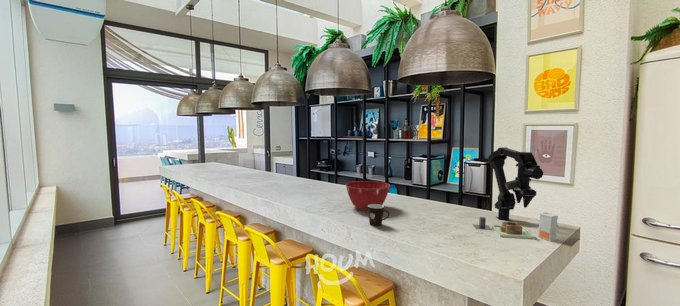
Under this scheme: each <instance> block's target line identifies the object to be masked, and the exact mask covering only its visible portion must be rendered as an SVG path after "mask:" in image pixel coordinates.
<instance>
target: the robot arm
mask: <svg viewBox="0 0 680 306" xmlns="http://www.w3.org/2000/svg"><path fill="white" fill-rule="evenodd" d="M508 157H509V158H512V159H514V161H515V162H517V163H516V164H515V167H517V176H516V177H514V178H515V179H514V180H510V181H507V177H506V174H505V171H504V166H505V164H506V162H505V160H506V159H508ZM487 161H488V163H489V166H490V167H491V168H492V169H493V172H494V176H495V179H496V183H497V187H498V191H499V192H498V195H497V201H496V202H495V203H494V209H497V210H498V212H497V213H498V214H497V215H498V216H495V218H496V219H498V220H499V221H507V222H512V219H511V218H510V210H511V211H513V210H514V209H515V206H516V204H520V203H521V202H523V208H527V207H528V206H529V204H530V203H531V202H532V200H533V199H534V198H535V196H536V197H537V190H535V189H533V188H532V187H531V186H530V182H532V179H534V180H540V179H542V178H543V176H544V171H543V169H542V168H541V166H540V165H538V162H537V161H536V158H535V156H534V153H533V152H531V151H518V150H515V149H512V148H508V147H502V146H501V147H498V148H497V149H496V150H495V151H493V152H491V153H490V154H489V155H488V157H487ZM510 191H513V192H514V193H513V192H510ZM516 202H517V203H516Z"/></svg>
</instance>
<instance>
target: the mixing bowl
mask: <svg viewBox="0 0 680 306" xmlns="http://www.w3.org/2000/svg"><path fill="white" fill-rule="evenodd" d="M345 187H346V191H347V194H348V197H349V199H350V201H351V204H352V205H353V206H354V207H355V208H357V210H361V211H368V205H371V204H379V205H383V204H384V203H385V201H386V199H387V196H388V193H389V190H390V187H391V184H390V183H387V182H382V181H376V180H375V181H374V180H358V181H349V182H347V183H345Z"/></svg>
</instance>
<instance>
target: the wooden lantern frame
mask: <svg viewBox="0 0 680 306" xmlns="http://www.w3.org/2000/svg"><path fill="white" fill-rule="evenodd" d="M501 225H502V226H500V230H499V231H501V232H505V233H506V234H520V235H522V225H521V224H520V223H518V222H515V221H501Z"/></svg>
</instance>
